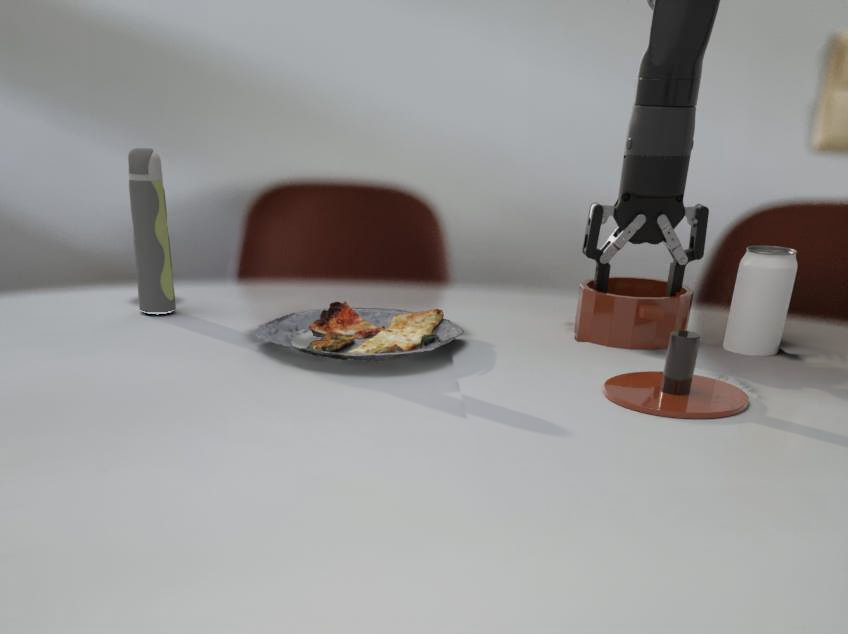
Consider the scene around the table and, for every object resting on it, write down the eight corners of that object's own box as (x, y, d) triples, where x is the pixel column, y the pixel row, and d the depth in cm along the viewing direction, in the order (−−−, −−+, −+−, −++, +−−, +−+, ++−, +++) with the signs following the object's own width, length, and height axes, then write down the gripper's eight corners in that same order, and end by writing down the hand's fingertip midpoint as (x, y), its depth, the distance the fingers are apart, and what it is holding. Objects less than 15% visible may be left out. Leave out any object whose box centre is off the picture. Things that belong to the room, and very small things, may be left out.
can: (785, 353, 120) (810, 250, 114) (763, 363, 116) (787, 256, 109) (735, 343, 123) (756, 243, 117) (712, 353, 119) (733, 249, 113)
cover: (721, 383, 108) (735, 318, 105) (766, 426, 96) (783, 354, 92) (590, 380, 108) (599, 316, 105) (618, 423, 96) (629, 351, 92)
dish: (663, 323, 132) (671, 273, 129) (702, 361, 116) (713, 304, 113) (563, 321, 132) (569, 271, 129) (588, 359, 116) (596, 302, 113)
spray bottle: (182, 310, 134) (169, 148, 124) (165, 317, 130) (151, 150, 120) (150, 307, 135) (135, 146, 125) (133, 314, 131) (116, 149, 121)
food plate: (325, 315, 133) (325, 288, 131) (486, 336, 124) (488, 307, 123) (224, 357, 114) (222, 326, 112) (406, 386, 105) (408, 353, 103)
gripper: (709, 148, 116) (684, 290, 124) (590, 146, 116) (573, 288, 124) (729, 153, 110) (701, 302, 118) (602, 151, 110) (584, 300, 118)
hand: (635, 295), depth 121 cm, fingers open, 8 cm apart
